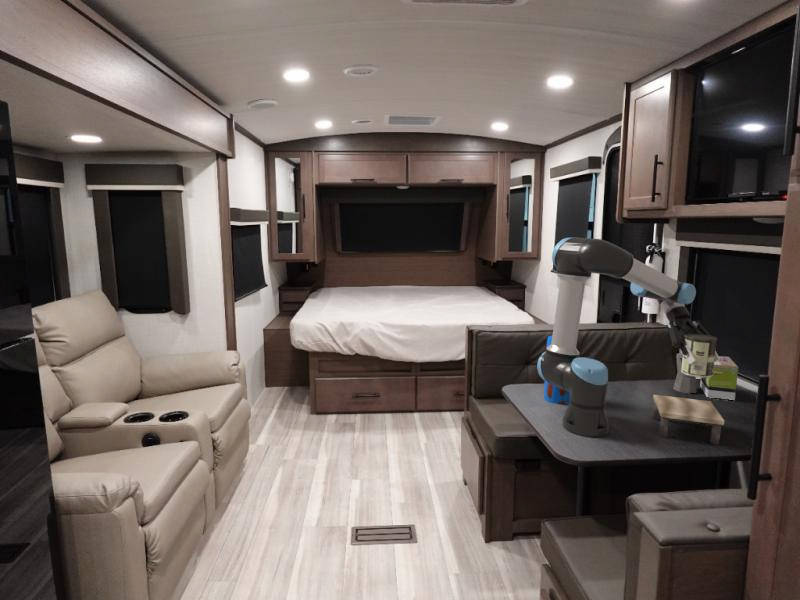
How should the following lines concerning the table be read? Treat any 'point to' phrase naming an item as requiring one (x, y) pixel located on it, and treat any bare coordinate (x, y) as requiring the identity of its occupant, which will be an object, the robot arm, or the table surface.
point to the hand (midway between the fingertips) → (705, 361)
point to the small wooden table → (687, 414)
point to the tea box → (721, 380)
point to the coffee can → (700, 355)
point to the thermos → (555, 389)
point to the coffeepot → (684, 379)
